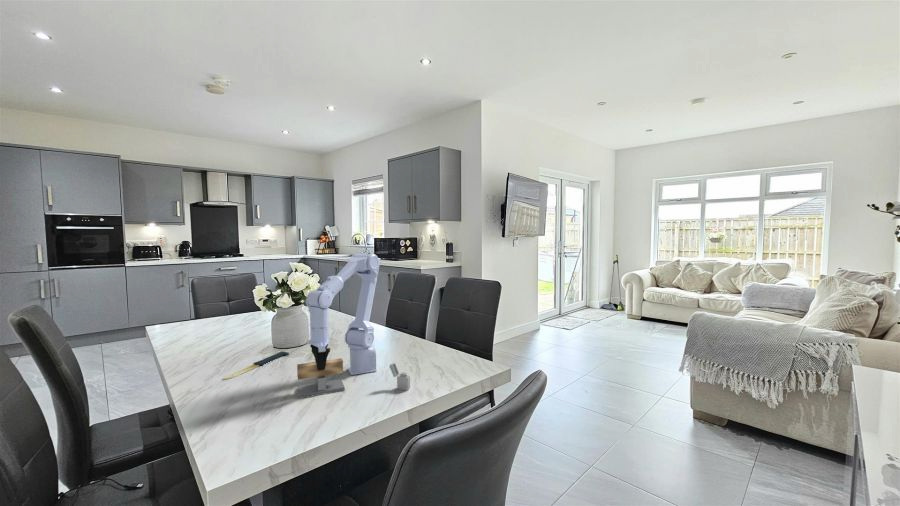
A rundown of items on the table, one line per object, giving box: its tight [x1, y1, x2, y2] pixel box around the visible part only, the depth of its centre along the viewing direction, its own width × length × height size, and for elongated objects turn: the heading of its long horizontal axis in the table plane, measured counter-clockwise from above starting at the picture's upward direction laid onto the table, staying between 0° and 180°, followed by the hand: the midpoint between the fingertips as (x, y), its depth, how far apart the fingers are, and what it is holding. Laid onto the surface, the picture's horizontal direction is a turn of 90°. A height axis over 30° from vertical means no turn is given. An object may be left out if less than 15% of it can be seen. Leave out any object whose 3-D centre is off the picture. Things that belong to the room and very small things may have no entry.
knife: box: [223, 351, 290, 381], centre depth 145 cm, size 4×2×30 cm
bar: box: [296, 358, 344, 381], centre depth 122 cm, size 14×3×4 cm, turn 114°
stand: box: [297, 376, 346, 399], centre depth 122 cm, size 14×8×5 cm, turn 114°
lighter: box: [389, 362, 411, 392], centre depth 122 cm, size 7×2×8 cm, turn 66°
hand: (320, 367), depth 121 cm, fingers open, 4 cm apart
